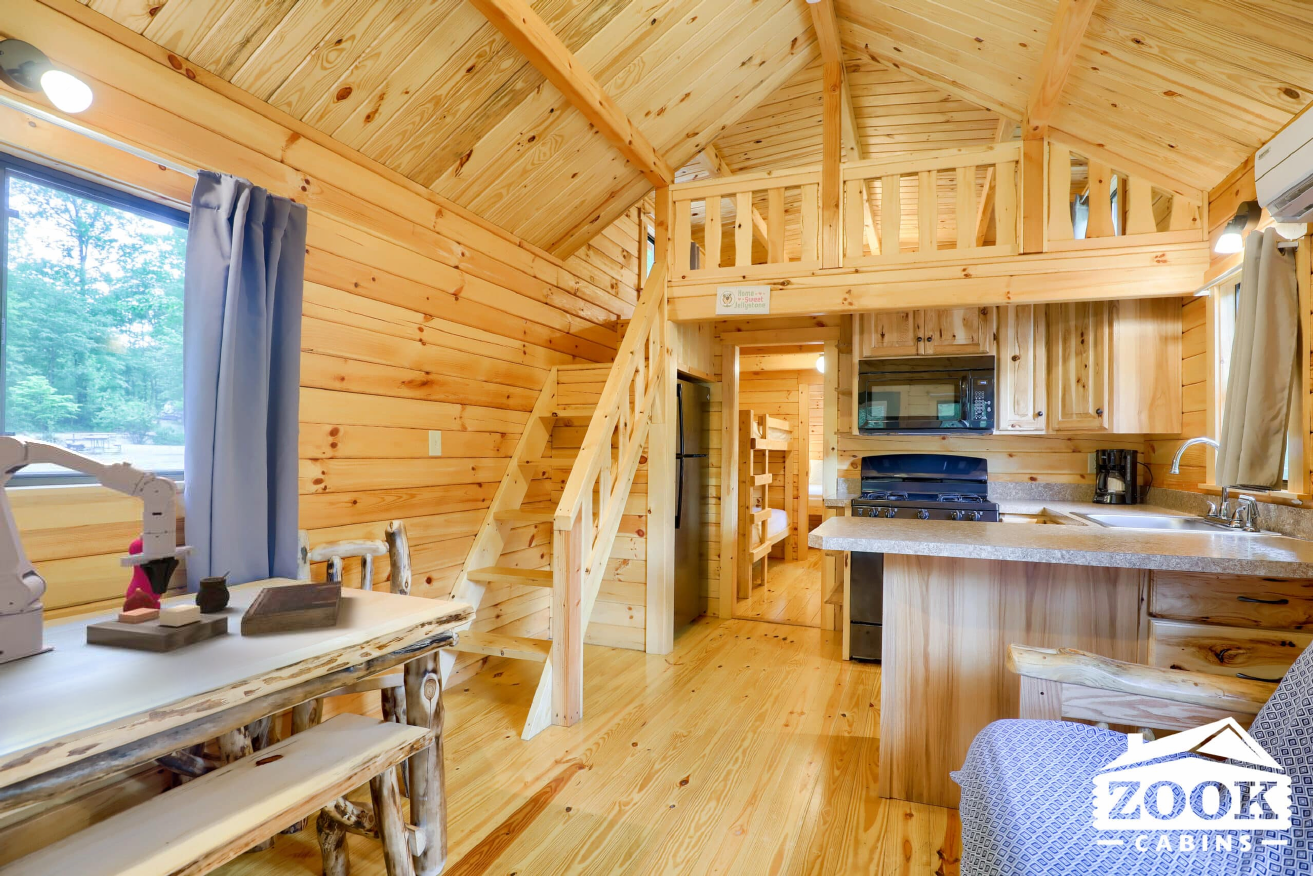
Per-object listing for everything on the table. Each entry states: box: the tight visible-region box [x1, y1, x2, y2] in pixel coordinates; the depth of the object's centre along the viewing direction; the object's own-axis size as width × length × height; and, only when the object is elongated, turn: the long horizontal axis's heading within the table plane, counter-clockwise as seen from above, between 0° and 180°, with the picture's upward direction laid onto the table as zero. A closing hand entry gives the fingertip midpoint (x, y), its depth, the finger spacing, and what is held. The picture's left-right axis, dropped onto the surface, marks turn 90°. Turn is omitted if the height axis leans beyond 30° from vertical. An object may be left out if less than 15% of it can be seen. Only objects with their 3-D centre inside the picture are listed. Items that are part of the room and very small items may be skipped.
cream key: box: [160, 604, 201, 626], centre depth 136 cm, size 5×5×3 cm
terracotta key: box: [117, 608, 159, 624], centre depth 139 cm, size 5×5×3 cm
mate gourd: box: [195, 570, 230, 613], centre depth 159 cm, size 7×8×10 cm
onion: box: [122, 588, 155, 613], centre depth 149 cm, size 6×6×8 cm
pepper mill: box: [125, 532, 164, 610], centre depth 157 cm, size 7×7×20 cm
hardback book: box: [240, 580, 342, 637], centre depth 156 cm, size 29×19×5 cm, turn 24°
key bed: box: [86, 609, 229, 653], centre depth 138 cm, size 14×22×4 cm, turn 75°
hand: (159, 593), depth 138 cm, fingers closed
